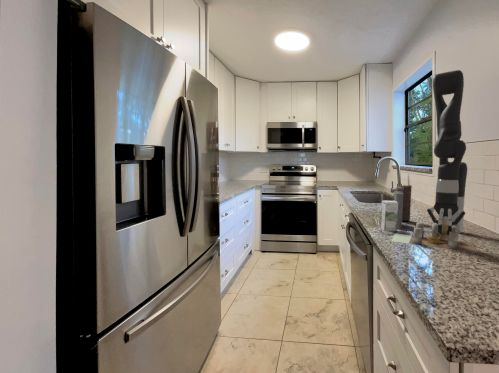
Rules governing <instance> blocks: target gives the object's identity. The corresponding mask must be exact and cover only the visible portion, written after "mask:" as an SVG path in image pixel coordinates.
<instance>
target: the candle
mask: <svg viewBox="0 0 499 373" xmlns="http://www.w3.org/2000/svg"><path fill="white" fill-rule="evenodd" d="M397 187H402V188H404V189H403V211H402V222H405V221H406V222H409V221H411V220H410V219H411V206H412V205H411V202H412V185H410V184H408V185H406V184H405V185H397Z"/></svg>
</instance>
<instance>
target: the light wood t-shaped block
mask: <svg viewBox="0 0 499 373" xmlns="http://www.w3.org/2000/svg"><path fill="white" fill-rule="evenodd" d="M448 221H449V220H443V219H442V234H440V241H444V242H448V237H449V235H447V231H448Z"/></svg>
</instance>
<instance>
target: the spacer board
mask: <svg viewBox="0 0 499 373" xmlns="http://www.w3.org/2000/svg"><path fill="white" fill-rule="evenodd" d="M415 224H416V225H415V227H414V228H413V235H412V234H411V235H412V237H411V239H410V241H409V244H410V245H416V246H417V245H418V246H424V247H432V248H438V249H440V248H441V249H447V250H455V251H461V252H463V251H464V252H470V253H478V250H477V247H476V245H475V242H471V241H463V240H459V236H460V233H458V232H457V229H458V227H455V226H452V230H451V232H449V237H448V242H444V241H440V243H429V242H427V236H424V235H425V234H424V232H425V223H423V222H416V223H415ZM431 225H432V226H431V236H436V237H440V233H438V224H437V223H432V224H431ZM409 244H408V245H409Z"/></svg>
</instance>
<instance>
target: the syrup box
mask: <svg viewBox="0 0 499 373" xmlns="http://www.w3.org/2000/svg"><path fill="white" fill-rule="evenodd" d="M397 212H398V202H397V201H394V200H381V215H380V216H381V217H380V230H382V231H383V232H397V229H396V228H397Z"/></svg>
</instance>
